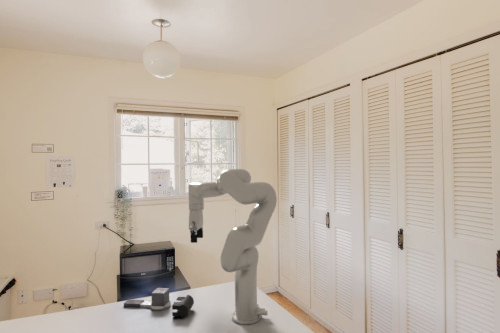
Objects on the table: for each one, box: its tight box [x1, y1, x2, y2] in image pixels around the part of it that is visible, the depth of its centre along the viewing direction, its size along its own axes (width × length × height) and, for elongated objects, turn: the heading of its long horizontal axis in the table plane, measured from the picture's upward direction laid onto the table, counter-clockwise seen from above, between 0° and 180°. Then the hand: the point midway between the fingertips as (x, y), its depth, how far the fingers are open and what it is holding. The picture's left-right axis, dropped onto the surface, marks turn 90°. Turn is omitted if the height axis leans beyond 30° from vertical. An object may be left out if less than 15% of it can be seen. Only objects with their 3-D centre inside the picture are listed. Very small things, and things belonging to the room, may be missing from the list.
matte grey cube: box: [151, 287, 170, 306], centre depth 141 cm, size 6×6×6 cm
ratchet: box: [123, 299, 172, 312], centre depth 142 cm, size 22×9×5 cm, turn 82°
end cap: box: [171, 294, 195, 320], centre depth 133 cm, size 10×7×7 cm
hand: (197, 240), depth 153 cm, fingers open, 9 cm apart
